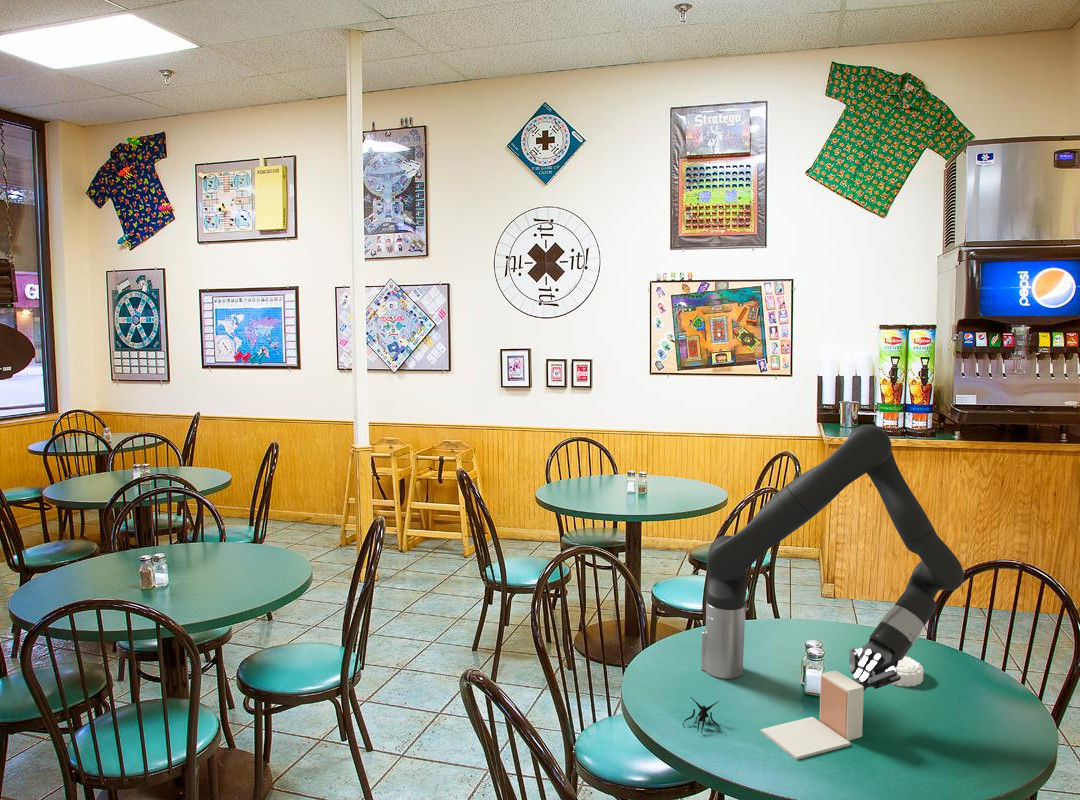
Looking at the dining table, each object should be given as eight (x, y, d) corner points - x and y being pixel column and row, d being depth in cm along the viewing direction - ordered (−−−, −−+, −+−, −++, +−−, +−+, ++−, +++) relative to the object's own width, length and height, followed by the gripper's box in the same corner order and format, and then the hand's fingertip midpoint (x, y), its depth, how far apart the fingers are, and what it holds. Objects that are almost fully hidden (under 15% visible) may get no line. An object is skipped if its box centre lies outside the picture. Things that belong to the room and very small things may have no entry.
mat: (760, 732, 163) (760, 729, 163) (812, 719, 168) (812, 716, 168) (796, 759, 153) (796, 757, 153) (850, 745, 158) (850, 742, 158)
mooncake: (860, 664, 195) (861, 651, 194) (907, 664, 195) (907, 650, 195) (883, 688, 183) (884, 673, 182) (933, 687, 183) (934, 672, 183)
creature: (718, 743, 161) (723, 717, 168) (719, 722, 159) (723, 696, 166) (680, 736, 163) (686, 711, 170) (680, 715, 161) (686, 690, 168)
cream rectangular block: (818, 722, 167) (820, 673, 165) (834, 718, 168) (835, 670, 167) (846, 741, 159) (847, 690, 158) (862, 736, 161) (863, 686, 160)
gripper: (864, 611, 172) (818, 673, 169) (913, 634, 160) (865, 701, 157) (881, 630, 175) (836, 692, 171) (931, 654, 163) (883, 721, 159)
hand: (850, 696), depth 164 cm, fingers closed
